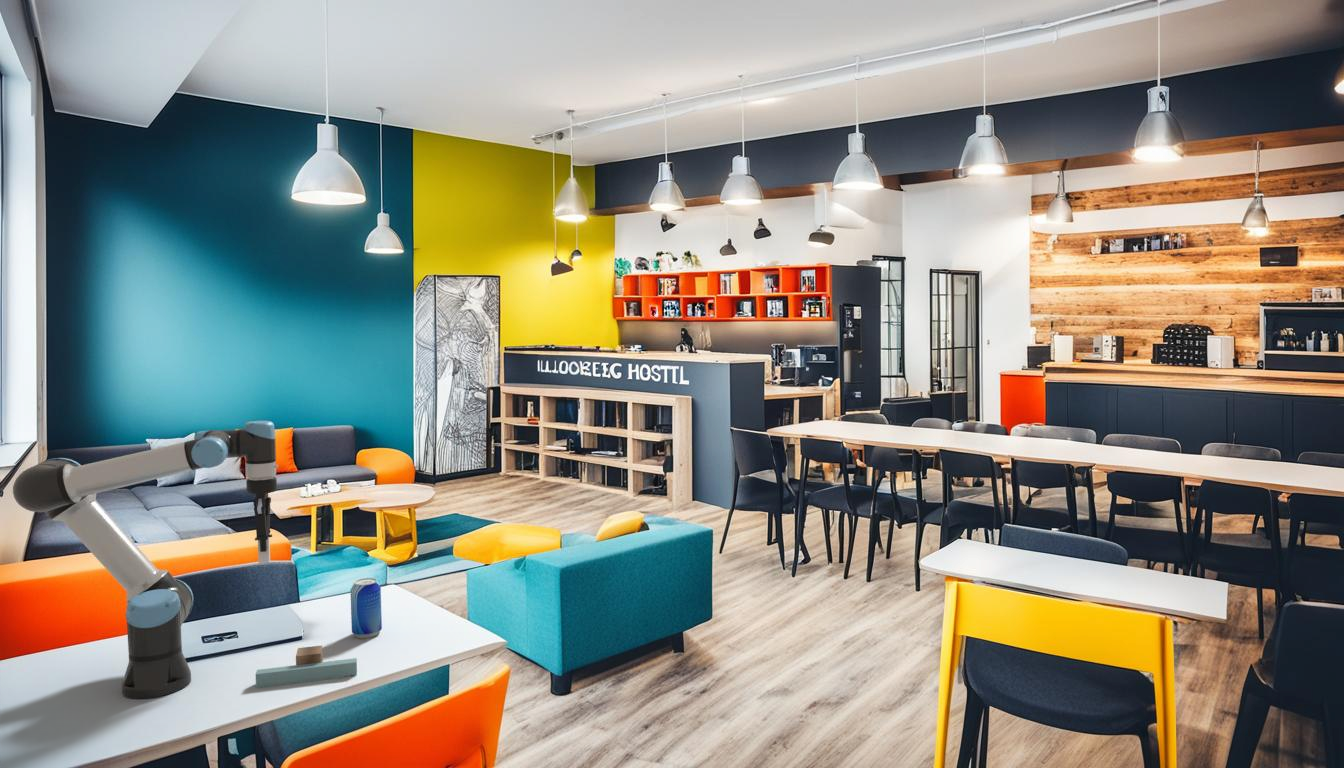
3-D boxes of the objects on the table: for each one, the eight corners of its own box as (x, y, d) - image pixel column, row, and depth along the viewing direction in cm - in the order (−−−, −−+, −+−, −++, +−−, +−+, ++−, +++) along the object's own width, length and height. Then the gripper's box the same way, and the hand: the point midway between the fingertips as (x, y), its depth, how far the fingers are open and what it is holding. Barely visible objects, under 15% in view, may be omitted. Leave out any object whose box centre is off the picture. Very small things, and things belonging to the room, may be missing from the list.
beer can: (362, 641, 253) (361, 587, 252) (346, 635, 258) (344, 582, 257) (387, 633, 259) (386, 580, 258) (371, 627, 265) (369, 575, 263)
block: (296, 678, 227) (295, 656, 226) (298, 670, 233) (297, 648, 232) (321, 675, 229) (320, 653, 228) (322, 667, 234) (322, 645, 234)
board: (256, 687, 221) (255, 674, 221) (257, 683, 224) (257, 669, 224) (356, 675, 229) (356, 662, 228) (357, 670, 232) (356, 658, 231)
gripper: (273, 480, 234) (276, 567, 236) (279, 472, 247) (282, 555, 248) (242, 482, 232) (245, 569, 234) (250, 474, 244) (253, 557, 246)
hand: (264, 562), depth 241 cm, fingers closed
